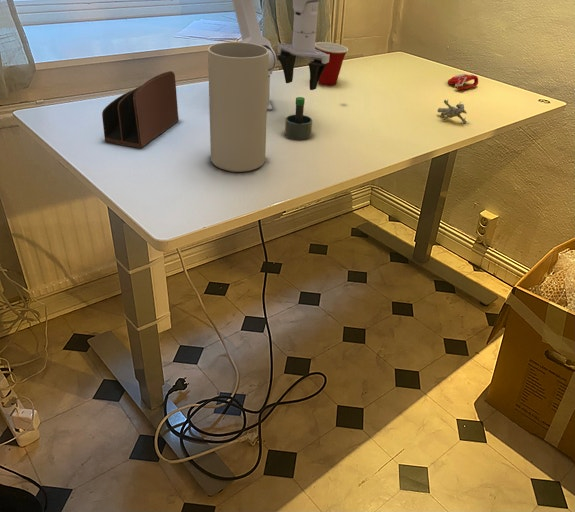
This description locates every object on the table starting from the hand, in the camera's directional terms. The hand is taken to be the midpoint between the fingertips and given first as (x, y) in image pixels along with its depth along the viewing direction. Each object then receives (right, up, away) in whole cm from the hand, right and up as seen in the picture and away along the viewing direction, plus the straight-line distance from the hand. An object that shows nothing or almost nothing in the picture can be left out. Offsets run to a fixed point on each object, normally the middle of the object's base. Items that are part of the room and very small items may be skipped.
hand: (300, 85), depth 144 cm
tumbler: (-1, -13, -1) cm, 13 cm away
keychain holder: (+55, +14, +39) cm, 69 cm away
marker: (-1, -13, -1) cm, 13 cm away
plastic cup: (+10, +12, +36) cm, 39 cm away
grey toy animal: (+42, -6, +13) cm, 45 cm away
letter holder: (-40, -13, -4) cm, 42 cm away
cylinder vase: (-15, -23, -16) cm, 31 cm away
